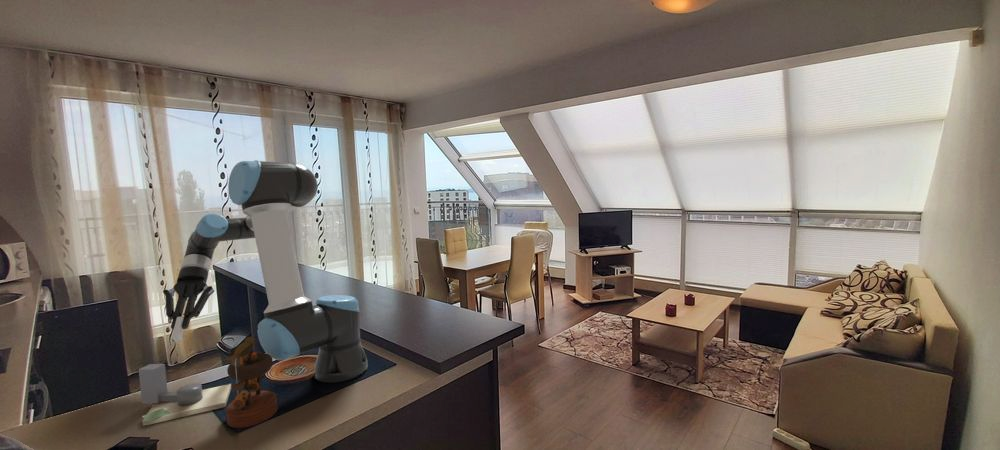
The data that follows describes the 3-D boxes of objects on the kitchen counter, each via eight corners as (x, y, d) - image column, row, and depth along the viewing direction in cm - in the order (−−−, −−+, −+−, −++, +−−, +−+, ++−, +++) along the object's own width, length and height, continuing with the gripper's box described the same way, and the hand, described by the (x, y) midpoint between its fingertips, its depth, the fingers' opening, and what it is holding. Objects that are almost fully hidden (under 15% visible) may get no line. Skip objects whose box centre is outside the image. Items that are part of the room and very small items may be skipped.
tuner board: (231, 387, 107) (230, 383, 107) (224, 409, 97) (224, 404, 97) (153, 404, 99) (152, 399, 99) (136, 429, 89) (135, 424, 89)
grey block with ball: (207, 394, 101) (204, 361, 100) (192, 405, 96) (189, 370, 95) (156, 395, 101) (152, 362, 100) (138, 406, 96) (134, 371, 95)
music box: (270, 426, 89) (255, 345, 87) (216, 439, 86) (200, 355, 84) (288, 393, 104) (276, 322, 101) (242, 403, 101) (229, 330, 99)
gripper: (221, 276, 130) (207, 341, 116) (174, 279, 126) (153, 347, 112) (214, 263, 125) (199, 330, 111) (165, 266, 120) (142, 336, 106)
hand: (176, 338), depth 111 cm, fingers closed
